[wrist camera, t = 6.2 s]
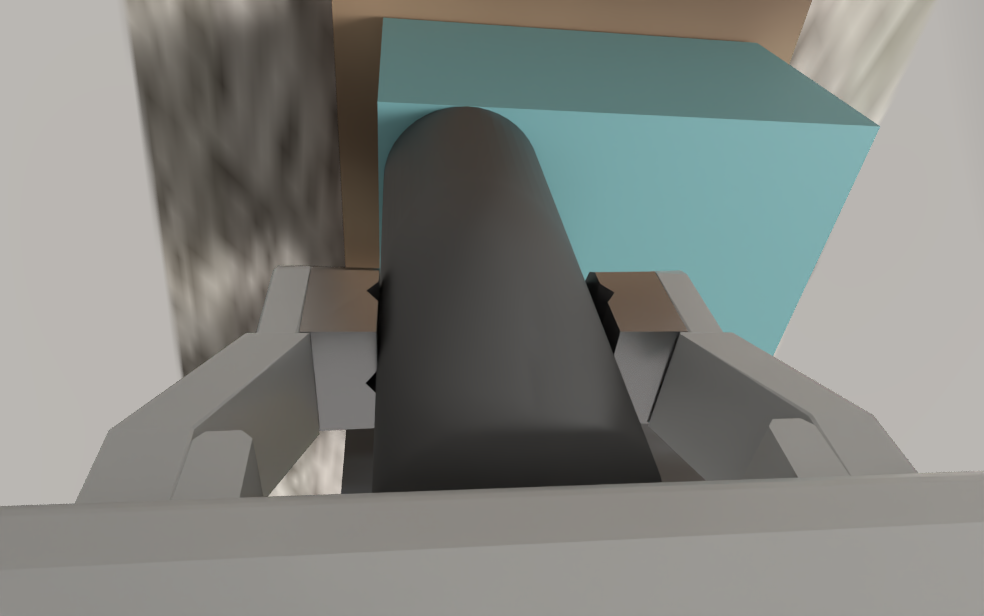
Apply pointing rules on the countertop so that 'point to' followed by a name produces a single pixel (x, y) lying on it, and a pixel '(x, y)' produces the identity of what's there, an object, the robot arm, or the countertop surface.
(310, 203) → the countertop surface
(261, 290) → the countertop surface
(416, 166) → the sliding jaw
